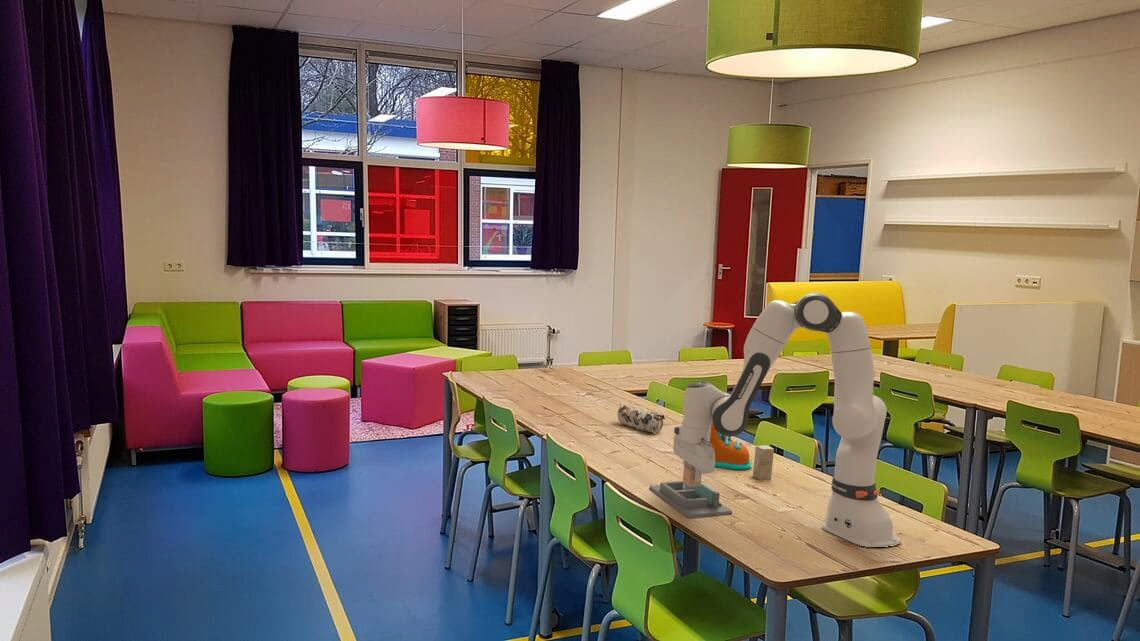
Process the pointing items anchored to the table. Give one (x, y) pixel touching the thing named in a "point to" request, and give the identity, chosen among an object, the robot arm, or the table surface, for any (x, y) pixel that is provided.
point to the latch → (703, 491)
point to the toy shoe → (729, 452)
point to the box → (763, 462)
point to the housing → (689, 500)
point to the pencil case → (640, 419)
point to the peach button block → (690, 476)
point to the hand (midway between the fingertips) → (692, 477)
